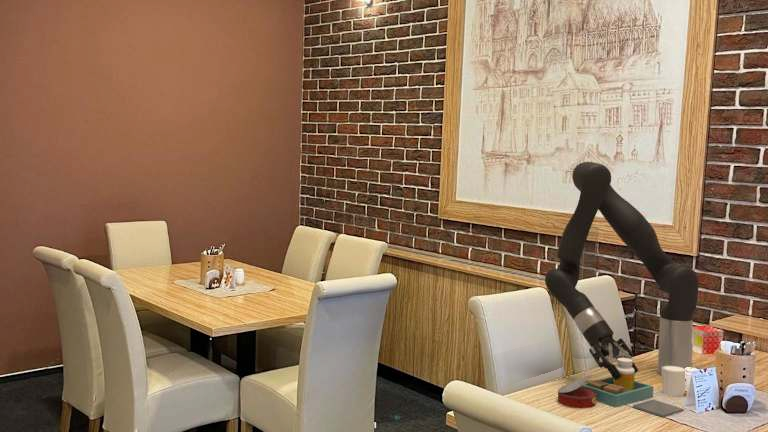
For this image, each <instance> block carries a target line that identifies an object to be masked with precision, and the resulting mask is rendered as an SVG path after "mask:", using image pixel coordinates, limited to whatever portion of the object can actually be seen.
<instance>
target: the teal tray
mask: <svg viewBox="0 0 768 432" xmlns="http://www.w3.org/2000/svg"><path fill="white" fill-rule="evenodd" d="M598 380H599V381H602V382H605V383H608V384H613V385H614V378H613V377H612V376H609V377H604V378H600V379H598ZM580 387H584V388H588V389H591V390H593V391H595V392H596V402H599V403H602V404H605V405H608V406H612V407H615V408H617V407H622V406H626V405H630V404H633V403H635V402H640V401H643V400H646V399H647V400H648V399H650V398H653V397H654V385H650V384H647V383H644V382H642V381H637V380H634V390H632V391H628V392H624V393H620V394H617V395H615V394H612V393H609V392H606V391H603V390H600V389H596V388H593V387H590V386H587V382H585V383H584V384H583V385H582V386H580Z"/></svg>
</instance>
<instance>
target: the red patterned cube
mask: <svg viewBox="0 0 768 432" xmlns="http://www.w3.org/2000/svg"><path fill="white" fill-rule="evenodd" d="M721 341H723V342H724V330H723V329H719V328H717V327H714V326H711V325H692V344H693V348H692V352H695V353H698V354H700V355H715V354H714V352H715V350H717V349H718V348H719V346H720V342H721Z"/></svg>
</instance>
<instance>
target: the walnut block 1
mask: <svg viewBox="0 0 768 432" xmlns="http://www.w3.org/2000/svg"><path fill="white" fill-rule="evenodd" d="M599 380H600V379H595V380H590V381H586V383H587V386H590V387H593V388H596V389H600V390H603V387H605V386H607V385H609V384H608V383H605V382H602V381H599Z"/></svg>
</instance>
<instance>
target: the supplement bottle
mask: <svg viewBox="0 0 768 432" xmlns="http://www.w3.org/2000/svg"><path fill="white" fill-rule="evenodd" d="M616 360H617V361H616V363H617V365H615V366H616V368H617V369H618V371H619V372H620V373H621V377H620V378H619V379H617V380H615V379H614V385H617V386H621V387H624V392H628V391H632V390H634V381H635V376H636V373H635V370H634V368H632V367H631V366H632V361H633V359H628V358H624V357H623V358H618V359H616Z"/></svg>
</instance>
